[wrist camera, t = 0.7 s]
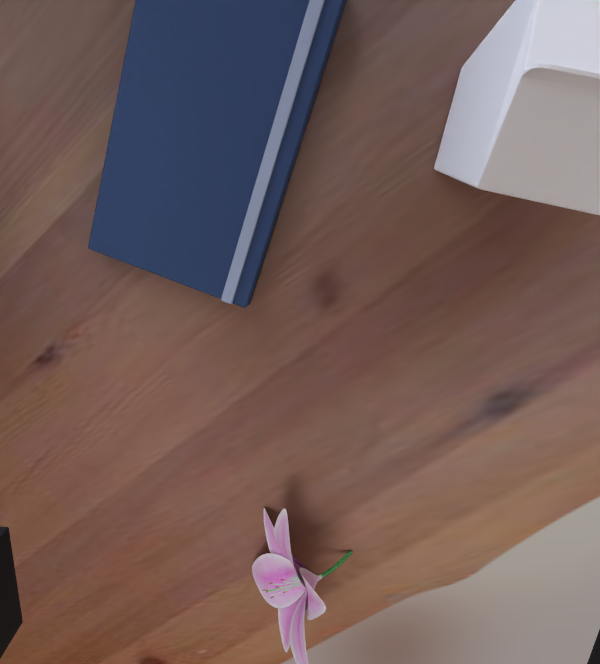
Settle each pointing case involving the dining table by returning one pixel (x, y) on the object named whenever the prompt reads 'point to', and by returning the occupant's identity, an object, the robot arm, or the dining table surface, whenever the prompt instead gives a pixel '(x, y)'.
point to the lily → (289, 586)
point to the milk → (531, 107)
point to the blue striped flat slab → (209, 135)
